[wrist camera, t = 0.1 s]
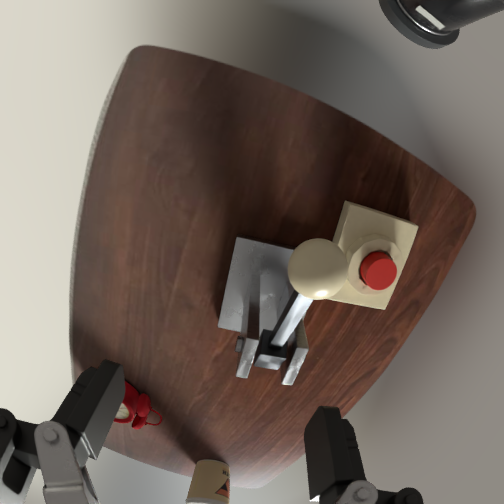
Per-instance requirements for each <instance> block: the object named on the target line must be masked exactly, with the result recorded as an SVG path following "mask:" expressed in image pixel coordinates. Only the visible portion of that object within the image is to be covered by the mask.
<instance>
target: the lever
mask: <svg viewBox="0 0 504 504" xmlns="http://www.w3.org/2000/svg"><path fill="white" fill-rule="evenodd" d="M347 275H348V263H347V259H346V257H345V254H344V253H343V251H342V250H341V249H340V247H339V246H337V245H336V244H335V243H333V242H331V241H329V240H326V239H320V238H316V239H310V240H307V241H305V242H303V243H301V244H300V245H299V246H297V247H296V249H295V250H294V251H293V253H292V254H291V256H290V259H289V262H288V276H289V280H290V282H291V284H292V286H293V287H294V291H293V293H292V295H291V297H290V299H289V301H288V303H287V305H286V307H285V308H284V310H283V312H282V314H281V316H280V318H279V320H278V322H277V323H276V325H275V327H274V329H273V331H272V330H267V329H263V331H262V333H261V335H260V337H259V343H258V346H257V350H256V353H255V358H254V366H257V367H263V368H269V369H275V370H278V368H279V367H280V366H281V365H282V363H283V362H284V361H285V360H286V358H287V345H288V338H289V337H290V335H291V334H292V332H293V331H294V329H295V328H296V326H297V325H298V323H299V322H300V320H301V318H302V317H303V315H304V314H305V312H306V311H307V309H308V308H309V306H310V304H311V303H312V301H313V300H314V299H315V300H320V299H326V298H329V297H331V296H333V295H334V294H336V293H337V292H338V291H339V290H340V289H341V288H342V287H343V285H344V283H345V281H346V279H347Z"/></svg>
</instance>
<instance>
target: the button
mask: <svg viewBox="0 0 504 504" xmlns="http://www.w3.org/2000/svg"><path fill="white" fill-rule="evenodd" d="M360 273H361V276H362V278H363V279H364V280H365V282H366V283H367V285H368V286H369V287H370V288H371V289H373V290H384V289H386V288H388V287H389V286H390V285H391V284H392V283H393V282H394V280H395V278H396V275H397V267H396V265H395V263H394V262H393V261H392V260H391V259H390V258H389V257H388V256H387V255H386V254H385V253H383V252H373V253H371V254H369V255H367V256H366V257H365V258H364V260H363V261H362V263H361V267H360Z"/></svg>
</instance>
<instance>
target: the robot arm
mask: <svg viewBox="0 0 504 504" xmlns="http://www.w3.org/2000/svg"><path fill="white" fill-rule="evenodd" d="M395 1H396V4H397V5H398V7H399V9H400V10H401V12H402V13H403V14H404V15H405V16H406V18H407V19H408V20H409V21H411V22H412V23H413V24H414V25H415V26H417V27H418V28H419V29H421V30H423V31H424V32H426V33H428V34H431V35H434V36H446V35H448V34H450V33H452V32H453V31H455V30H457V29H459V28H461V27H464V26H466V25H468V24H470V23H473V22H475V21H477V20H479V19H482V18H484V17H487V16H489V15H492V14H494V13H497V12H500V11H502V10H504V0H395ZM124 395H125V380H124V370H123V365H121V364H118V363H115V362H113V361H110V360H107V359H105V360H103V362H102V363H101V365H100V366H99V368H98V369H96V368H93V367H90V368H88V369H87V370H85V371H84V372H82V373H81V375H80V376H79V378H78V379H77V381H76V383H75V384H74V385H73V387H72V388H71V391H70V392H69V393H68V395H67V396H66V398H65V399H64V401H63V402H62V404H61V406H60V407H59V409H58V411H57V412H56V414H55V415H54V417H53V418H52V419H51V420H50V421H45V422H43V423H41V424H33V423H28V422H24V421H20V420H17V419H16V418H15V417H14V415H13V414H12V413H11V412H10V411H8V410H7V409H3V408H0V504H23V503H24V500H25V497H26V494H27V492H28V489H29V487H30V484H31V482H32V479H33V477H34V474H35V472H36V469H37V468H38V469H41V471H42V475H43V479H44V484H45V486H44V487H43V495H44V498H45V502H46V504H101V503H100V501H99V499H98V497H97V495H96V492H95V490H94V487H93V485H92V482H91V479H90V477H89V474H88V471H87V468H86V466H85V463H86V461H87V459H88V457H90V458H93V459H95V460H97V457H98V455H99V453H100V450H101V448H102V446H103V443H104V441H105V439H106V437H107V434H108V432H109V430H110V428H111V425H112V423H113V421H114V419H115V417H116V414H117V412H118V410H119V408H120V406H121V404H122V402H123V399H124ZM304 442H305V452H306V462H307V472H308V483H309V494H310V501H319V504H423V499H422V496H421V494H420V493H419V492H418V491H417V490H416V489H414V488H404V489H402V490H400V491H399V492H397V493H396V492H388V491H382V490H378V489H376V487H375V486H374V485H373V484H372V483H370V482H368V481H367V480H366V477H365V474H364V469H363V465H362V460H361V456H360V452H359V449H358V444H357V441H356V436H355V432H354V428H353V427H352V425H351V424H350V423H349V421H348V420H347V419H341V415H340V411H339V408H338V407H330V406H319V407H318V408H317V410H316V412H315V413H314V415H313V416H312V418H311V419H310V421H309V422H308V424H307V425H306V428H305V432H304Z"/></svg>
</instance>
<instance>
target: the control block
mask: <svg viewBox="0 0 504 504" xmlns="http://www.w3.org/2000/svg"><path fill="white" fill-rule="evenodd" d="M417 229H418V226H417V225H415V224H414V223H412V222H410V221H408V220H405V219H402V218H399V217H396V216H393V215H390V214H387V213H384V212H381V211H378V210H375V209H372V208H368V207H365V206H362V205H359V204H356V203H352V202H349V201H345V202H344V205H343V209H342V212H341V215H340V219H339V222H338V225H337V228H336V231H335V235H334V238H333V241H332V242H333V243H335V244H336V245H337V246H339V247H340V249H341V250H342V251H343V253H344V254H345V257H346V259H347V263H348V275H347V279H346V281H345V283H344V285H343V287H342V288H341V289H340V290H339V291H338V292H337V293H336V294H334V295H333V296H331V297H329V298H326V299H330V300H335V301H340V302H345V303H351V304H356V305H361V306H367V307H372V308H378V309H384V310H385V308H386V306H387V304H388V302H389V300H390V297H391V295H392V293H393V291H394V288H395V286H396V284H397V281H398V279H399V277H400V274H401V272H402V269H403V267H404V265H405V262H406V259H407V257H408V254H409V252H410V249H411V246H412V244H413V241H414V238H415V235H416V232H417ZM373 252H383V253H385V254H386V255H387V256H388V257H389V258H390V259H391V260H392V261H393V262H394V263H395V265H396V267H397V275H396V278H395V280H394V282H393V283H392V284H391V285H390V286H389V287H388V288H386V289H384V290H373V289H371V288H370V287H369V286H368V285H367V283H366V282H365V280H364V279H363V278H362V276H361V273H360V267H361V263H362V261H363V260H364V258H365V257H366V256H367V255H369V254H371V253H373Z"/></svg>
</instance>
